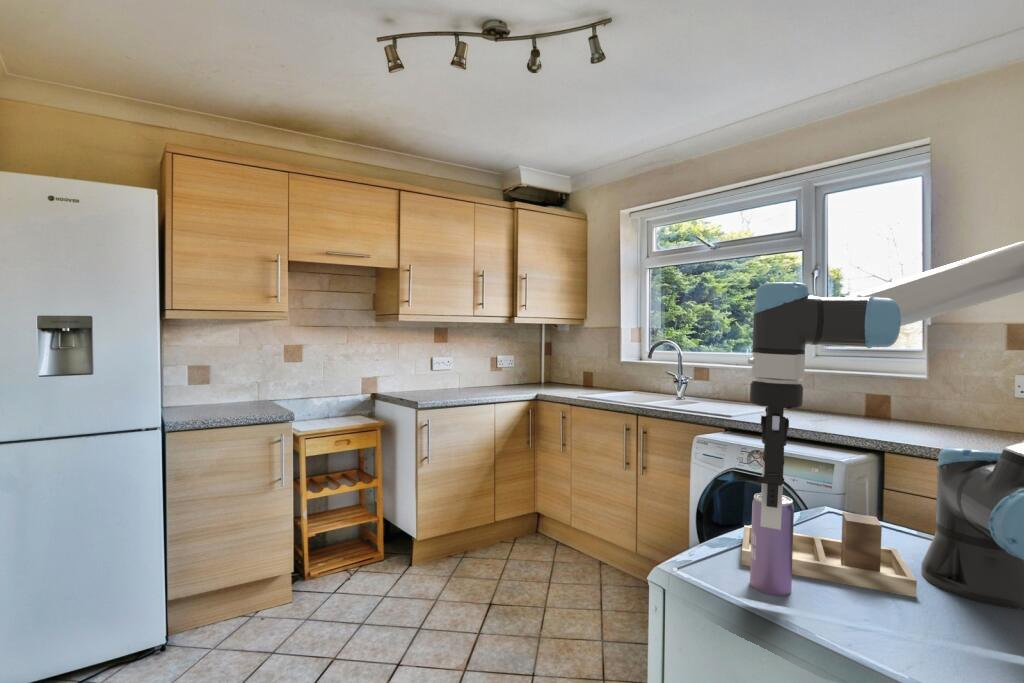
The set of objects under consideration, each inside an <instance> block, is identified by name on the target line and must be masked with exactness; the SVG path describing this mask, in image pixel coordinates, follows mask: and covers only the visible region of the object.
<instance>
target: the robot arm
mask: <svg viewBox="0 0 1024 683" xmlns="http://www.w3.org/2000/svg"><path fill="white" fill-rule="evenodd" d="M1021 292H1024V240H1023V241H1019V242H1016V243H1013V244H1010V245H1007V246H1003V247H1000V248H996V249H993V250H991V251H987V252H984V253H981V254H978V255H974V256H972V257H968V258H966V259H961V260H959V261H956V262H952V263H949V264H946V265H942V266H939V267H936V268H934V269H930V270H926V271H924V272H921V273H917V274H914V275H911V276H908V277H905V278H902V279H898V280H895V281H892V282H889V283H886V284H883V285H879V286H876V287H872V288H869V289H867V290H864V291H860V292H857V293H855V294H852V295H848V296H845V297H843V296H841V297H840V296H836V297H835V296H828V297H827V296H823V297H821V296H814V295H810V293H809V287H808V285H807V284H805V283H802V282H788V281H785V282H783V281H782V282H777V281H776V282H766V283H763V284H760V286H758V287H757V288H756V290H755V298H754V308H753V309H754V310H753V318H752V319H753V323H752V324H753V326H752V328H753V329H752V348H751V351H752V354H751V355H752V358H751V357H750V358H748V359H747V364H748V365H752V367H751V375H750V376H751V377H752V378H754V380H752V381H751V382H750V387H749V388H750V391H749V402H750V403H751V404H753V405H755V406H759V407H765V410H764V411H765V415H763V414H762V415H760V416H761V418H760V428H761V443H762V444H763V451H762V455H763V457H762V460H763V463H762V468H761V469H762V472H761V475H762V476H758V480H757V482H758V484H759V483H760V484H761V492H760V493H762V504H761V524H760V526H762V527H768V528H773V529H779V530H781V515H782V495H783V491H784V482H785V477H784V465H785V446H786V445H787V443H788V432H789V428H790V420H789V417H786V416H784V412H785V409H799V408H801V407H802V406H803V401H804V400H803V398H804V396H803V395H804V386H803V384H801V383H800V381H801V382H802V381H803V380H805V370H806V355H805V354H806V345H813V346H814V345H815V346H816V345H819V346H824V347H833V346H837V347H856V348H867V349H872V348H889V347H892V346H893V345H894V344H895V343H896V342H897V340H898V338H899V335H900V332H901V327H903V326H906V325H910V324H913V323H916V322H917V323H918V322H920V321H924V320H928V319H930V318H934V317H939V316H941V315H945V314H949V313H953V312H955V311H958V310H963V309H966V308H969V307H973V306H977V305H979V304H983V303H988V302H991V301H994V300H998V299H1001V298H1004V297H1008V296H1012V295H1015V294H1018V293H1021ZM935 467H936V470H937V471H936V472H937V474H936V475H937V476H936V504H935V506H936V508H935V509H936V511H935V512H936V513H935V514H936V515H935V517H936V518H935V534H934V536H933V539H932V540H931V542H930V545H929V547H928V549H927V551H926V553H925V555H924V557H923V560H922V562H921V565H920V566H921V567H920V569H921V570H920V573H921V576H922V577H923V578H924V579H925V581H927V582H929V583H930V584H931V585H933V586H935V587H937V588H939V589H941V590H943V591H946V592H947V593H950V594H953V595H954V596H955V595H956V596H958V597H961V598H964V599H968V600H969V601H974V602H978V603H981V604H986V605H990V606H996V607H1002V608H1007V609H1008V608H1009V609H1017V610H1019V609H1020V610H1021V611H1023V612H1024V439H1023V440H1022V441H1021V442H1017V443H1015V444H1011V445H1008V446H1005V447H1004V448H1003V450H1002V451H1001V450H991V449H990V450H989V449H979V448H978V449H977V448H962V447H945V448H943V449H941V450H940V451H939V454H938V461H937V464H936V466H935ZM783 496H784V495H783Z"/></svg>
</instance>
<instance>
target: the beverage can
mask: <svg viewBox="0 0 1024 683" xmlns="http://www.w3.org/2000/svg"><path fill="white" fill-rule="evenodd" d="M751 503H752V506H751V507H752V508H751V526H752V531H751V564H750V566H749V569H750V570H749V572H750V573H749V577H750V578H749V585H750V586H751V587H752V588H753V589H755V590H756V591H758V592H760V593H763V594H765V595H769V596H770V595H771V596H776V597H784V596H786V597H787V596H788V595H789V596H790V594H791V593H792V584H793V583H792V582H793V579H792V578H793V574H792V557H793V533H794V525H795V524H794V521H795V520H794V519H795V507H794V504H793V503H794V500H793V499H792V498H790V497H789V496H786V495H782V515H781V530H779V529H773V528H768V527H762V526H760V524H761V504H762V493H761V492H758V493H754V495H753V499H752V502H751Z"/></svg>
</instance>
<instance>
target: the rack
mask: <svg viewBox="0 0 1024 683" xmlns="http://www.w3.org/2000/svg"><path fill="white" fill-rule="evenodd" d="M751 531H752V525H745V524H744V526H743V535H742V544H741V545H742V546H741V565H742V566H747V567H750V564H751ZM841 545H842V539H834V538H829V537H823V536H822V537H821V536H814V535H808V534H802V533H795V532H793V557H792V575H796V576H801V577H805V578H811V579H817V580H822V581H828V582H831V583H832V582H833V583H839V584H845V585H850V586H852V587H853V586H854V587H860V588H865V589H869V590H875V591H880V592H887V593H892V594H898V595H902V596H903V595H904V596H908V597H914V598H917V590H918V589H917V587H918V586H917V584H918V581H917V578H916V577H915V575H914V574H913V572H912V571H911V570H910V568H909V567H908V565H907V563H906V562H905V560H904V558H903V557H902V555H901V554H900V552H899V550H898V549H897V548H891V547H885V546H881V561H880V572H876V571H871V570H865V569H859V568H853V567H848V566H842V564H841Z"/></svg>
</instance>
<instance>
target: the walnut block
mask: <svg viewBox="0 0 1024 683" xmlns="http://www.w3.org/2000/svg"><path fill="white" fill-rule="evenodd" d="M882 529H883V526H882V524H881V522H880V521H879V519H878V518H877V516H874V515H873V516H872V515H868V514H867V515H866V514H860V513H851V512H842V521H841V541H842V545H841V564H842V566H848V567H853V568H859V569H865V570H871V571H876V572H880V561H881V547H882Z"/></svg>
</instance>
